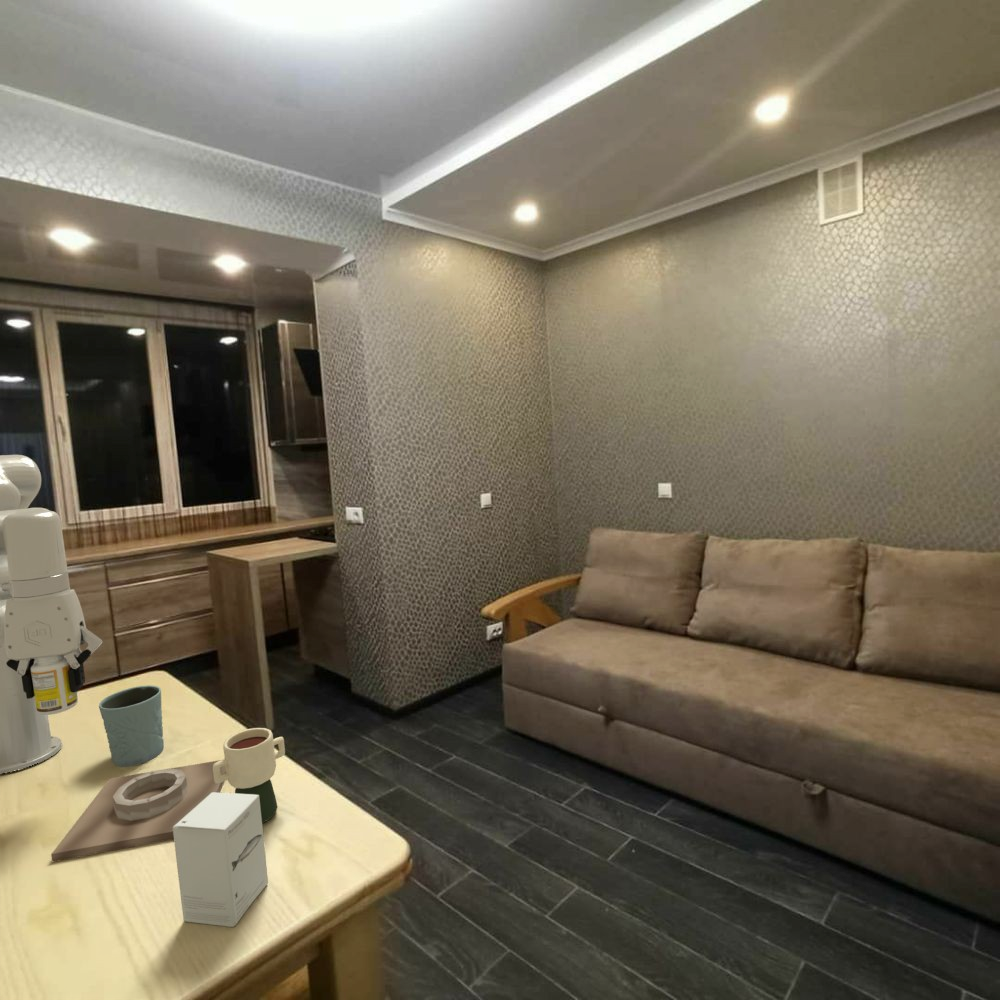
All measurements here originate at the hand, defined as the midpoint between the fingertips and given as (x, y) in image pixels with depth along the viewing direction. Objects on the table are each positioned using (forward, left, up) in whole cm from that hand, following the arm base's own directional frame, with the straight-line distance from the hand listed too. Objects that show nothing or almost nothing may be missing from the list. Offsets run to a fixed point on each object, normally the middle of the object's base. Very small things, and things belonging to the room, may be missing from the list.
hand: (55, 691), depth 98 cm
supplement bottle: (0, 0, -3) cm, 3 cm away
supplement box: (+32, -33, -20) cm, 50 cm away
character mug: (+32, -15, -20) cm, 41 cm away
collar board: (+15, -7, -19) cm, 25 cm away
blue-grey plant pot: (+6, +13, -20) cm, 24 cm away
